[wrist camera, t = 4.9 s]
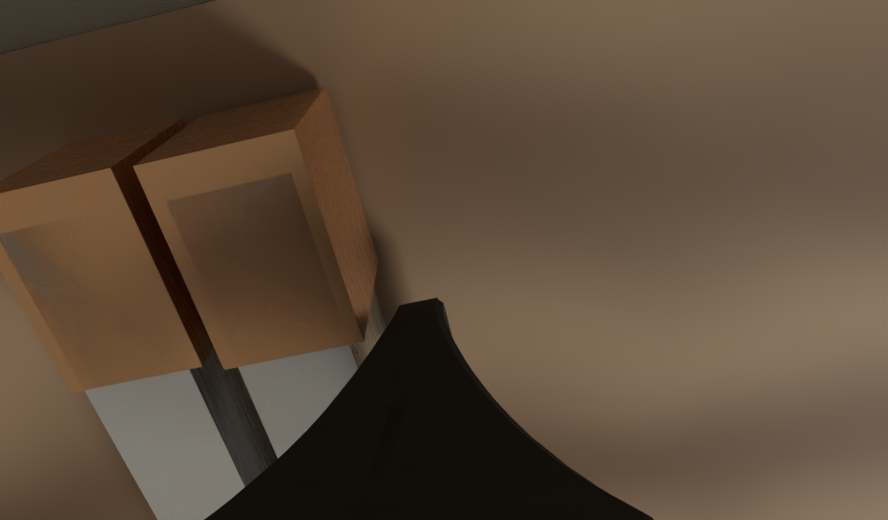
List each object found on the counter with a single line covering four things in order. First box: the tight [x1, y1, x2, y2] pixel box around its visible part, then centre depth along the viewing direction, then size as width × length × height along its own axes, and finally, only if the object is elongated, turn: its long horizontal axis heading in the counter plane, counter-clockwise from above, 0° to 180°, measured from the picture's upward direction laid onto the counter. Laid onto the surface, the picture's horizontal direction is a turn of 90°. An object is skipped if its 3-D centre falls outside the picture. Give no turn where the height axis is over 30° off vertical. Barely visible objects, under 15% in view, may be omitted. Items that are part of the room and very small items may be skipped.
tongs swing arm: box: [133, 87, 386, 458], centre depth 12 cm, size 13×2×2 cm, turn 13°
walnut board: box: [0, 0, 888, 520], centre depth 14 cm, size 19×24×2 cm
